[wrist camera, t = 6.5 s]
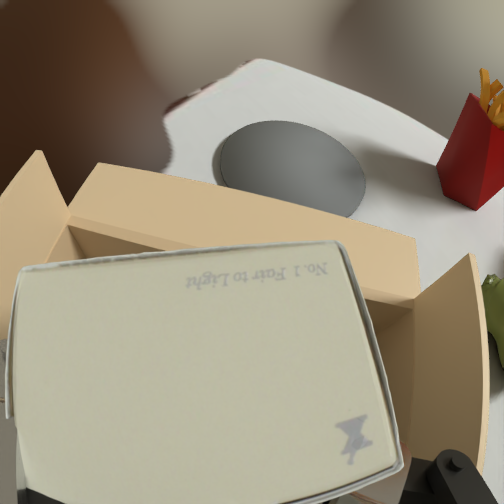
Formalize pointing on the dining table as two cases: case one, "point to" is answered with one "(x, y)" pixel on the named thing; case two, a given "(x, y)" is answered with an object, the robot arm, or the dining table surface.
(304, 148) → the coaster
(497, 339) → the pear
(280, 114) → the dining table surface
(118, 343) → the skincare box
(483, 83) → the french fries
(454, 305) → the carton
